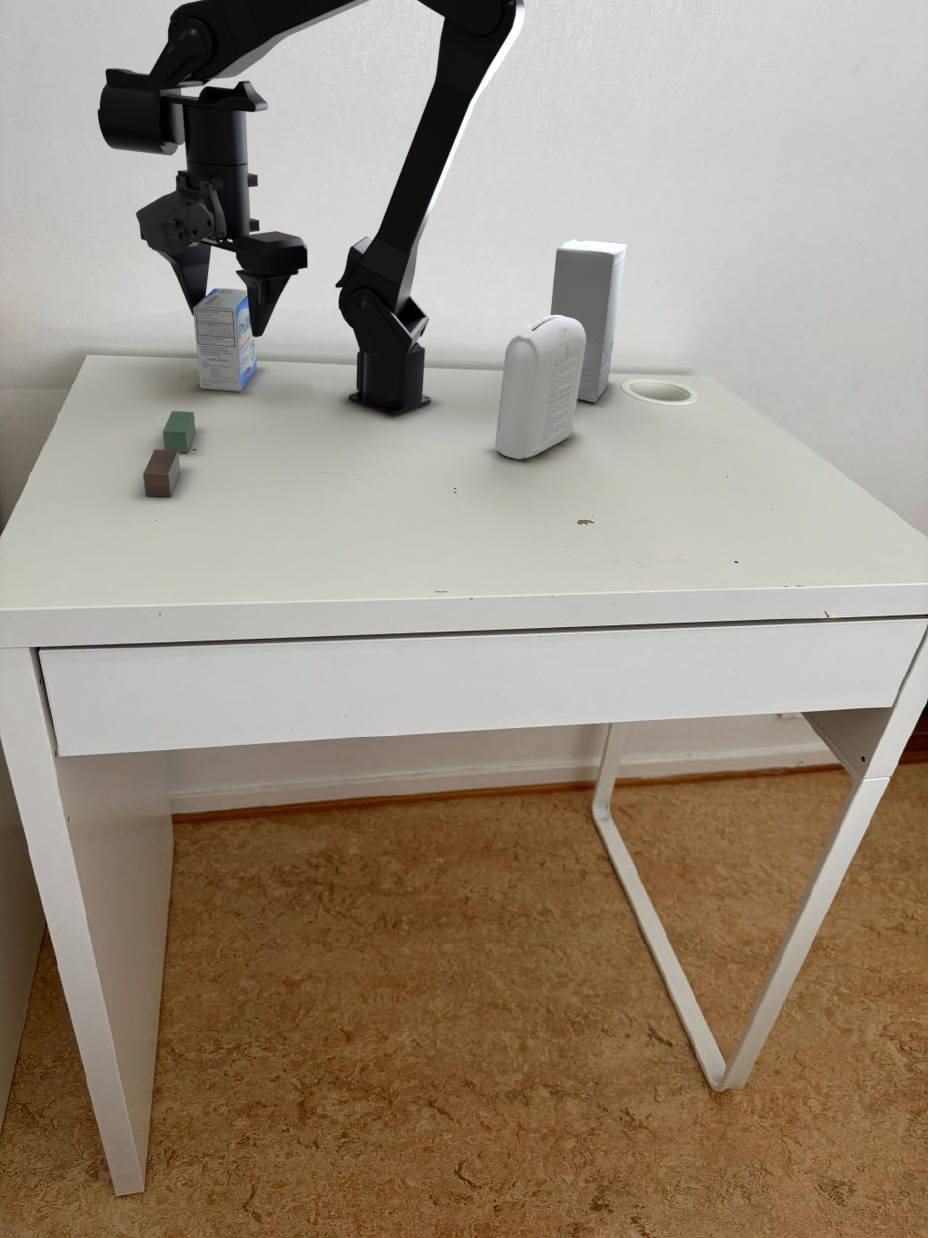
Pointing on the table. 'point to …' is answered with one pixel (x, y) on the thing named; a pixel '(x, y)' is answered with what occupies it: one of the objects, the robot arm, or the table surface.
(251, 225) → the robot arm
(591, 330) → the cosmetic box
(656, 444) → the table surface
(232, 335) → the medicine box
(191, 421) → the sage bar
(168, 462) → the walnut bar
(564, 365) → the photo printer
